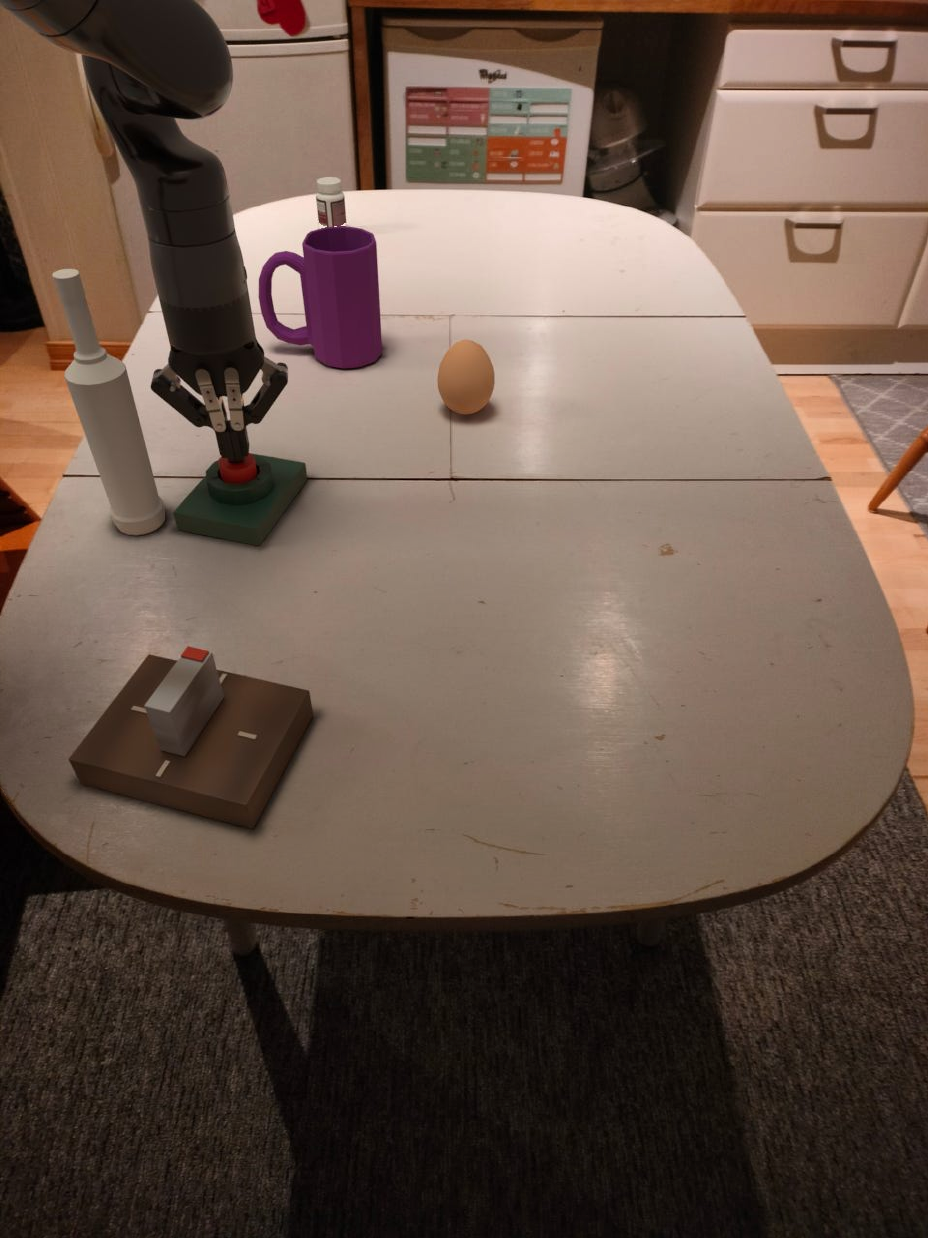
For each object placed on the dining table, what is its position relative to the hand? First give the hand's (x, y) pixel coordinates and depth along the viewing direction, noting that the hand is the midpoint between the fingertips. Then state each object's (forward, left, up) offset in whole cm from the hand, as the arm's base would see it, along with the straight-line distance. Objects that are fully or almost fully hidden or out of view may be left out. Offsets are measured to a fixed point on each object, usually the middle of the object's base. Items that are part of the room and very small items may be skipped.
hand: (236, 458), depth 84 cm
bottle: (-9, -6, -6) cm, 12 cm away
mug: (-5, +34, -6) cm, 35 cm away
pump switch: (0, 0, -6) cm, 6 cm away
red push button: (0, 0, -2) cm, 2 cm away
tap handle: (+11, -30, -3) cm, 32 cm away
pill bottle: (-21, +76, -6) cm, 79 cm away
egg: (+17, +25, -6) cm, 31 cm away
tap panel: (+11, -30, -6) cm, 32 cm away
